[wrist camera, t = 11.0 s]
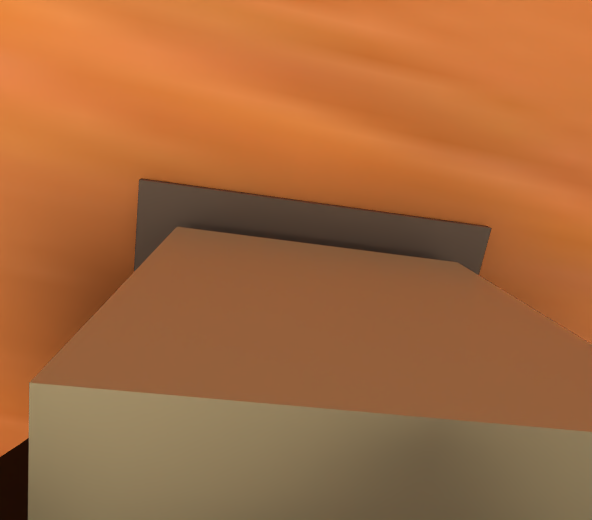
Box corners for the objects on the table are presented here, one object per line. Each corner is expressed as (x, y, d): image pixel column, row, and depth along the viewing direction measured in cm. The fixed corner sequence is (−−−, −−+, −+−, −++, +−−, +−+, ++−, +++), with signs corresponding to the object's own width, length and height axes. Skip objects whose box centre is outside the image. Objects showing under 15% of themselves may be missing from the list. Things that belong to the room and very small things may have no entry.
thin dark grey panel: (487, 226, 11) (491, 228, 11) (413, 499, 13) (416, 505, 13) (141, 178, 10) (139, 179, 10) (124, 480, 12) (122, 485, 12)
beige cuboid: (393, 532, 12) (538, 951, 6) (151, 518, 11) (22, 976, 5) (457, 262, 10) (759, 447, 4) (177, 226, 9) (29, 382, 3)
